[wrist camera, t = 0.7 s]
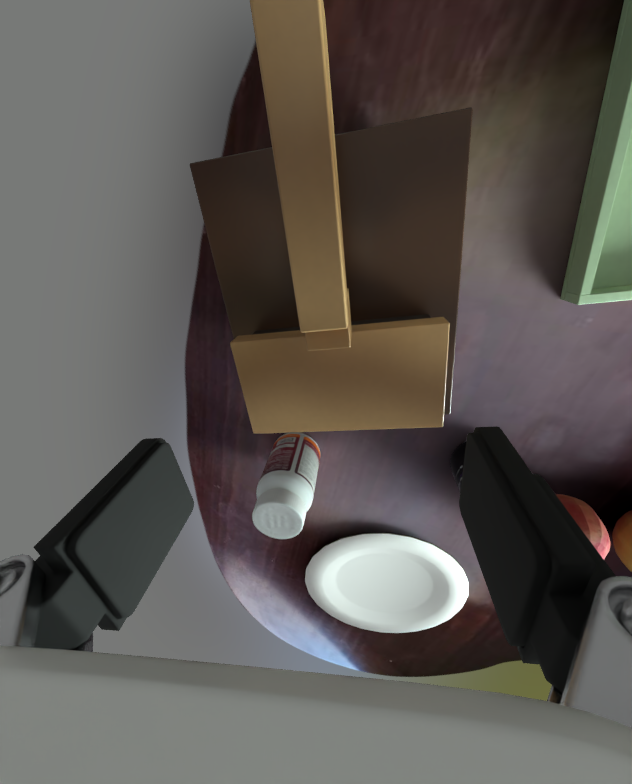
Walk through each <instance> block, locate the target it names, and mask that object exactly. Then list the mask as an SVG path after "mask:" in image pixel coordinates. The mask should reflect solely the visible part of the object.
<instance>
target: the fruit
mask: <svg viewBox="0 0 632 784" xmlns="http://www.w3.org/2000/svg"><path fill="white" fill-rule="evenodd" d="M556 496H557V497H558V498H559V500H560V501H561V502H562V504H563V505H564V507H565V508H566V509H567V511H568V512H569V513H570V515H571V516H572V517H573V519H574V520H575V521H576V523H577V524H578V526H579V527H580V528H581V530H582V531H583V532H584V534H585V535H586V536H587V538H588V539H589V540H590V542H591V543H592V545H593V546H594V547H595V549H596V550H597V551H598V553H599V554H600V555H601V557H602V558H603V559H605V557H606V555H607V554H608V552H609V550H610V539H609V535H608V532H607V530H606V528H605V526H604V524H603V523H602V521H601V520H600V518H599V517H598V516H597V514H596V513H595V511H594V510H593V509H592V508H591V507H590V506H589V505H587V504H586V503H585V502H584V501H581V500H579V499H577V498H574V497H571V496H567V495H562V494H556Z"/></svg>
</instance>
